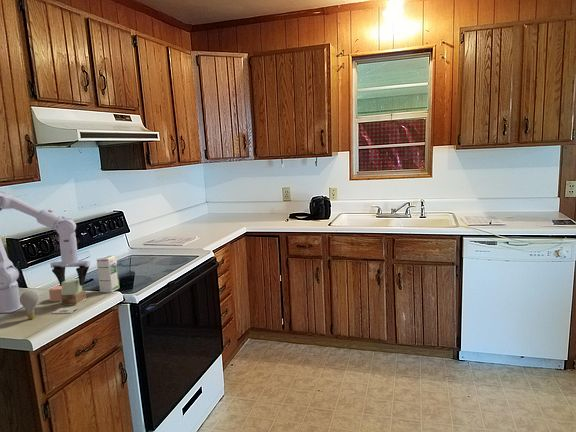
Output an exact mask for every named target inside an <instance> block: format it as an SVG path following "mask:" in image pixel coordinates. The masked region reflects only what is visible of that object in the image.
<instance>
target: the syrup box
mask: <svg viewBox="0 0 576 432" xmlns="http://www.w3.org/2000/svg"><path fill="white" fill-rule="evenodd" d="M117 257H118V256H117V255H104V256H101V257H99V258H96V267H97V275H98V276H97V277H98V284H99V292H100V293H113V292H115V291H117V290H119V289H120V277H119V268H118V259H117Z"/></svg>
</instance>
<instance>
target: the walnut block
mask: <svg viewBox="0 0 576 432" xmlns="http://www.w3.org/2000/svg"><path fill="white" fill-rule="evenodd" d="M61 298H62V301H61V305H62V304H77V303H78V302H80V301H82V300H83V299H85V298H86V299H87V293H86V290H82V291H81V292H79V293H78V294H76V295H61Z"/></svg>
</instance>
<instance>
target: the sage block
mask: <svg viewBox="0 0 576 432" xmlns="http://www.w3.org/2000/svg"><path fill="white" fill-rule="evenodd" d="M61 283H62V293H63V295H76V294H78V293H79V292H81V291H83V285H82V286H80V284H79V278H67V279H65V281H63V282H61Z"/></svg>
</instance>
